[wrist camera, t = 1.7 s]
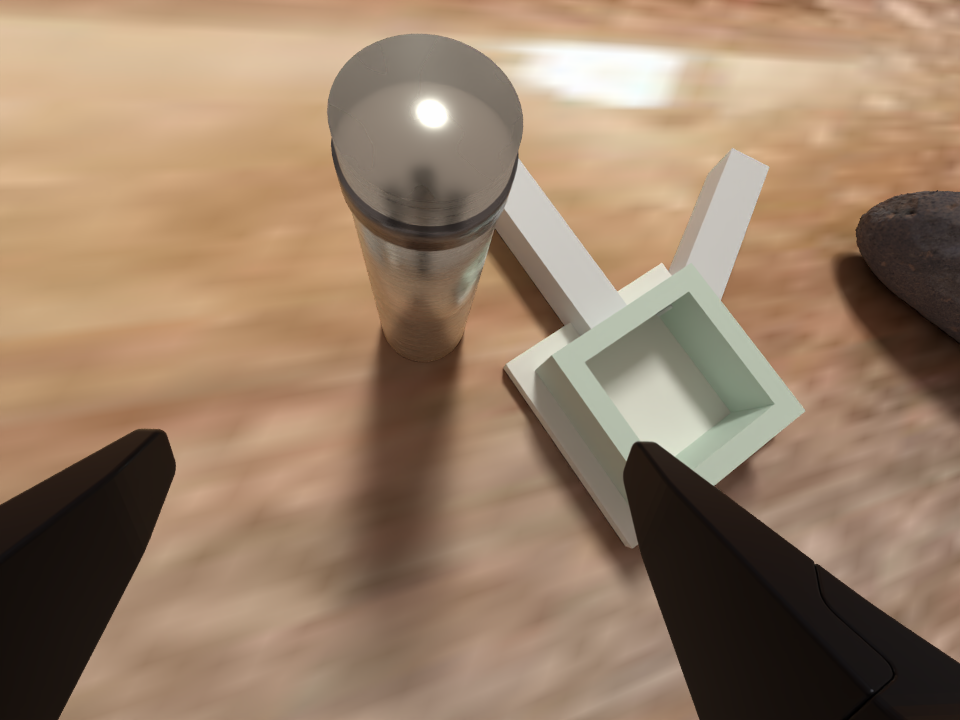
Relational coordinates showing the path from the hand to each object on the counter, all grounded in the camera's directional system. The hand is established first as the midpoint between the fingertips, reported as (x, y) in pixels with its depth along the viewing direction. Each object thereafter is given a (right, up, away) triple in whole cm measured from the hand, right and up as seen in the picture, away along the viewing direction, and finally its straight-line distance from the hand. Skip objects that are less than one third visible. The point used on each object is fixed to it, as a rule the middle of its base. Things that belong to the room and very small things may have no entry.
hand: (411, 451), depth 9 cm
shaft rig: (+10, +6, +16) cm, 20 cm away
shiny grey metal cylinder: (-1, +4, +14) cm, 15 cm away
